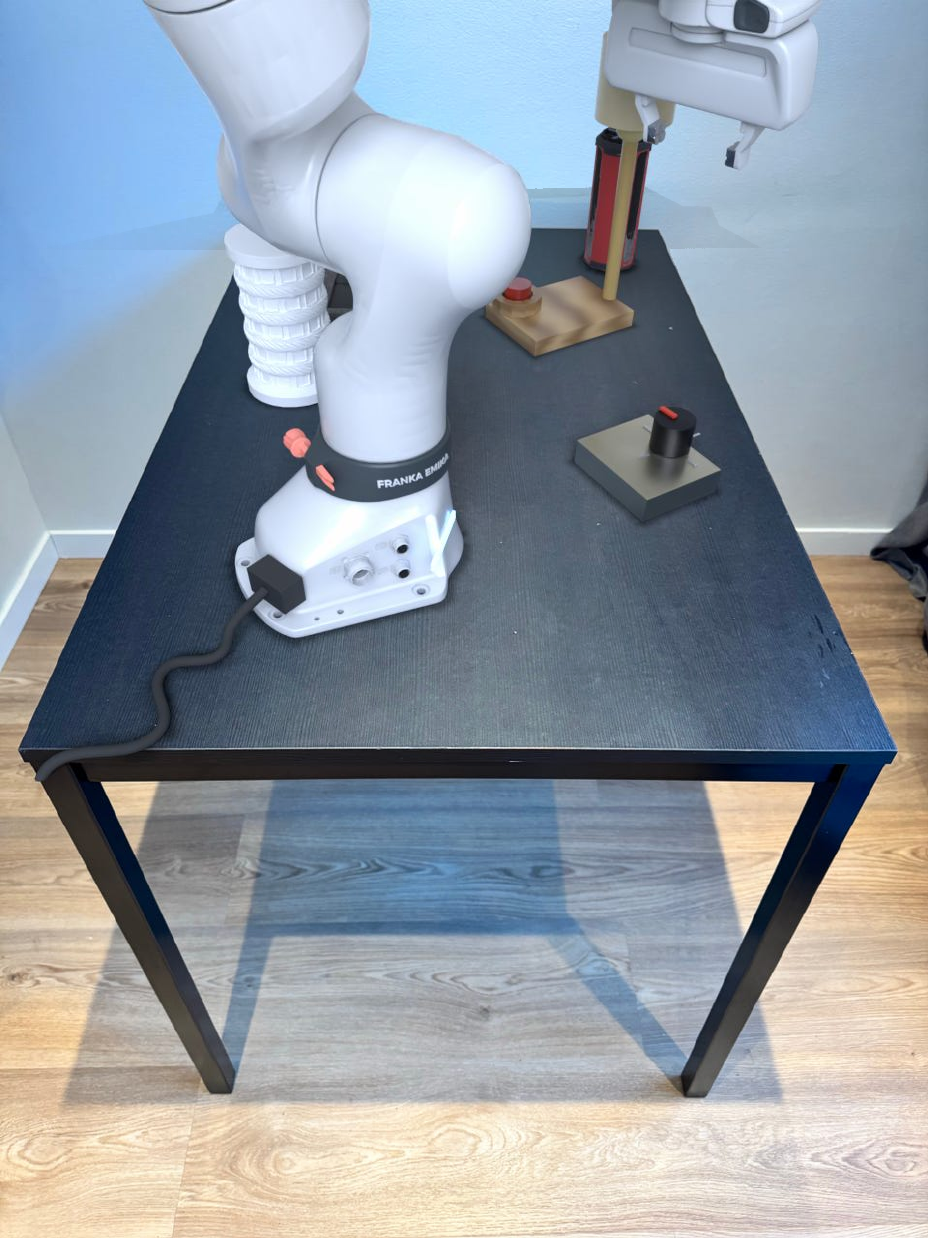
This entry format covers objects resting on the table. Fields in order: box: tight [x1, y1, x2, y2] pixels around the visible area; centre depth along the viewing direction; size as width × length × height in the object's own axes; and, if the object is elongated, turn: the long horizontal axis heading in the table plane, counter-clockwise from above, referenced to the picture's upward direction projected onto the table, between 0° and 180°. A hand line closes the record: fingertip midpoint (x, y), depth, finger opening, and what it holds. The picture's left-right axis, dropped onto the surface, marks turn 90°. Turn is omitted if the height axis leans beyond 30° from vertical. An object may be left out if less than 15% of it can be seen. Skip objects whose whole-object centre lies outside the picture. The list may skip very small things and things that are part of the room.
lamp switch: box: [504, 276, 532, 301], centre depth 116 cm, size 4×4×2 cm
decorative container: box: [223, 222, 331, 408], centre depth 102 cm, size 12×12×18 cm
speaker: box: [582, 127, 653, 272], centre depth 126 cm, size 8×8×18 cm
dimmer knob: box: [649, 405, 697, 458], centre depth 93 cm, size 4×4×4 cm
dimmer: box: [574, 413, 722, 523], centre depth 95 cm, size 12×12×3 cm
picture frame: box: [323, 268, 353, 323], centre depth 124 cm, size 16×2×21 cm
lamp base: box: [485, 275, 635, 357], centre depth 118 cm, size 16×12×4 cm
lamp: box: [594, 29, 677, 300], centre depth 106 cm, size 9×9×30 cm
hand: (693, 153), depth 85 cm, fingers open, 8 cm apart
